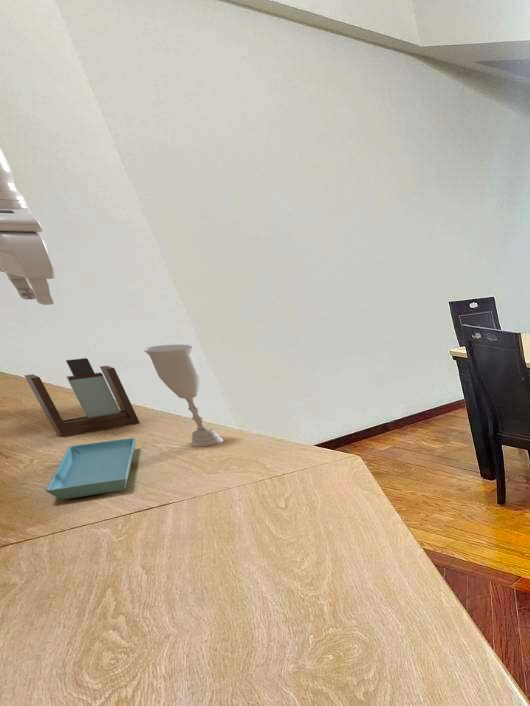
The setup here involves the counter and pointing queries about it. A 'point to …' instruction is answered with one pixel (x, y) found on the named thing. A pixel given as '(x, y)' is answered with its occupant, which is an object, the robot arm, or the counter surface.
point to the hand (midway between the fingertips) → (37, 301)
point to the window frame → (85, 423)
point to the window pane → (91, 389)
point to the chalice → (182, 383)
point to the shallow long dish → (93, 469)
